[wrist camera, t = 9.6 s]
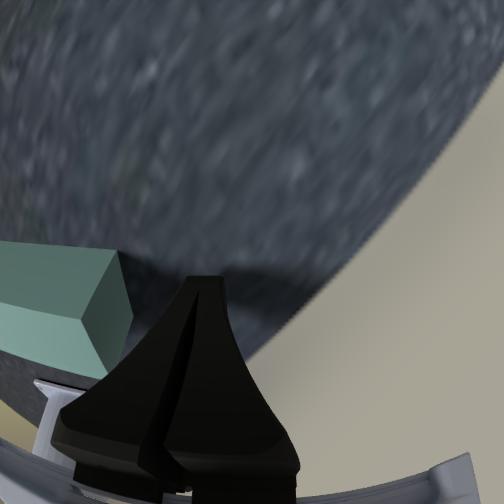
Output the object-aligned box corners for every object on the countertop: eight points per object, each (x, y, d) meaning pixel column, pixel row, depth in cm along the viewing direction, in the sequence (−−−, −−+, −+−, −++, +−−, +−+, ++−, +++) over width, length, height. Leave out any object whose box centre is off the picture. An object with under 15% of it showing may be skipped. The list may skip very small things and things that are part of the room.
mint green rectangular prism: (134, 312, 14) (112, 381, 11) (-19, 285, 13) (-48, 329, 10) (118, 246, 11) (80, 319, 8) (-42, 234, 11) (-79, 277, 8)
